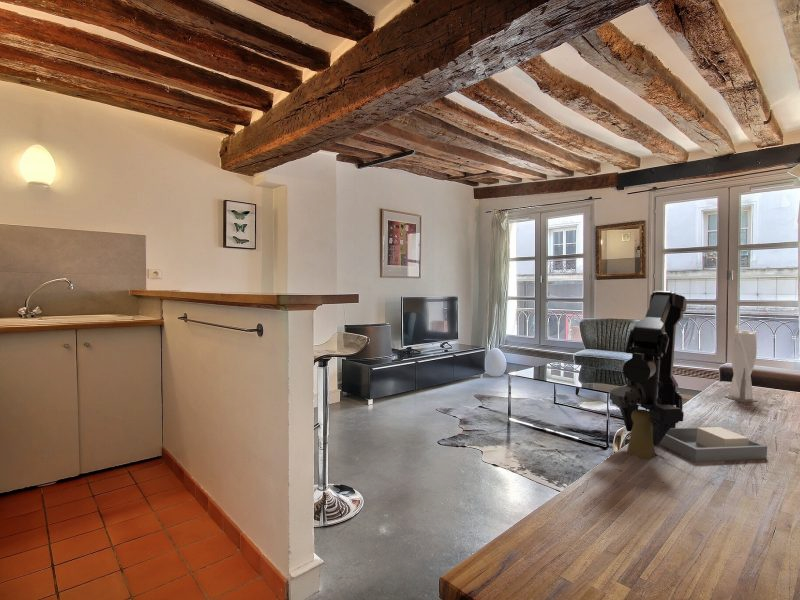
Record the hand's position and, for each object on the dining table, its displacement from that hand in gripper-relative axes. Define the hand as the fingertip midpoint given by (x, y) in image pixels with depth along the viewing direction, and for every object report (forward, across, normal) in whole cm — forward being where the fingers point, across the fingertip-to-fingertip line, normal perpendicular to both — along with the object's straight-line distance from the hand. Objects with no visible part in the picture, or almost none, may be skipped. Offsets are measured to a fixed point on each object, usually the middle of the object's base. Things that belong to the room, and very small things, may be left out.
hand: (641, 437), depth 107 cm
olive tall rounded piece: (+4, 0, 0) cm, 4 cm away
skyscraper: (+4, -44, +79) cm, 90 cm away
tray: (+4, +1, +18) cm, 18 cm away
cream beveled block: (+3, +1, +22) cm, 23 cm away
